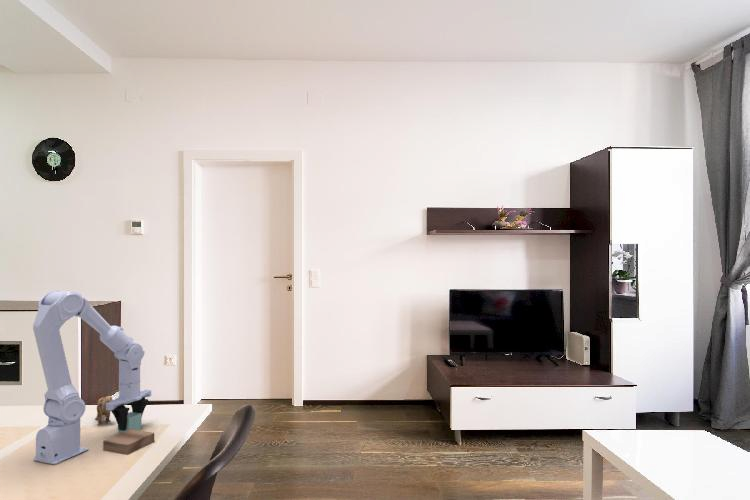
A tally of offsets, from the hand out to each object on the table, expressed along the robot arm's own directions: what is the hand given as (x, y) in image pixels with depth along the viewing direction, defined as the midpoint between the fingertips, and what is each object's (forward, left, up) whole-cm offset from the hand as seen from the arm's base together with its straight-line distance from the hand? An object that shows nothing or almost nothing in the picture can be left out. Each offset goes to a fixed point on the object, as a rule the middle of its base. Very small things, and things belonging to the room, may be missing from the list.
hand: (129, 426), depth 137 cm
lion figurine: (+4, +16, -2) cm, 16 cm away
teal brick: (0, 0, -2) cm, 2 cm away
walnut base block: (-8, -9, -1) cm, 12 cm away
